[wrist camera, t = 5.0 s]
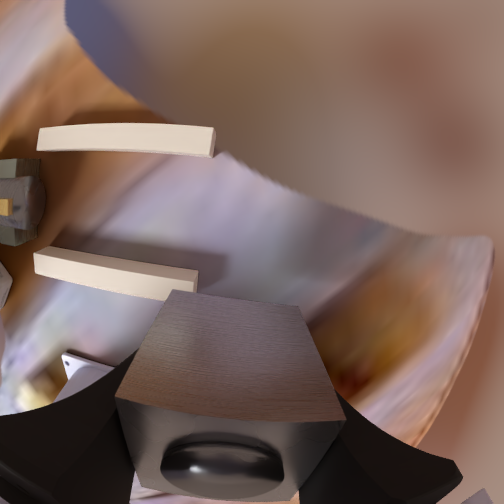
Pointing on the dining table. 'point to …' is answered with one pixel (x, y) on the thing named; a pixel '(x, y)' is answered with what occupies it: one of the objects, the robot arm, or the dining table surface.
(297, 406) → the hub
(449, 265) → the dining table surface
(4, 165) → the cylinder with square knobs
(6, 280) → the ink box
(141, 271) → the guide rails
